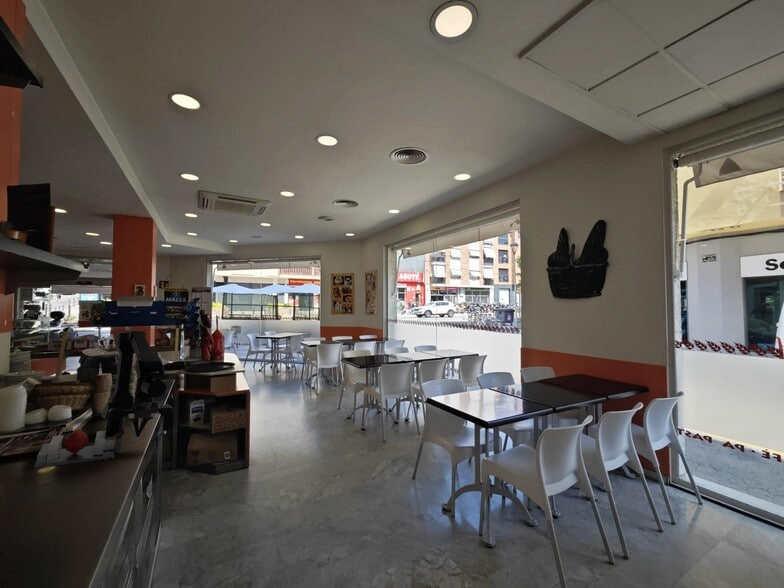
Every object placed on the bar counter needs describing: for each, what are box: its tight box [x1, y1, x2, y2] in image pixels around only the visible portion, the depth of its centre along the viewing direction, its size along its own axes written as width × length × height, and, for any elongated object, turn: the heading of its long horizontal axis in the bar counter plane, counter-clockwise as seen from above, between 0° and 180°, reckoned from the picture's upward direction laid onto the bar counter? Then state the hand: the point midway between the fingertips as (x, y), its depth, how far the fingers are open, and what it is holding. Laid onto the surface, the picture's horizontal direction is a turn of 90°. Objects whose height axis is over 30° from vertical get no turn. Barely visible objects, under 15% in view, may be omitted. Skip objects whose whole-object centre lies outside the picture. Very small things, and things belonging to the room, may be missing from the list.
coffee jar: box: [109, 375, 134, 397], centre depth 160 cm, size 10×8×19 cm
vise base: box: [33, 434, 116, 469], centre depth 116 cm, size 12×19×6 cm, turn 128°
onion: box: [63, 427, 89, 453], centre depth 115 cm, size 6×6×8 cm
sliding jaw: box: [93, 430, 123, 455], centre depth 120 cm, size 9×7×5 cm
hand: (137, 436), depth 125 cm, fingers closed
